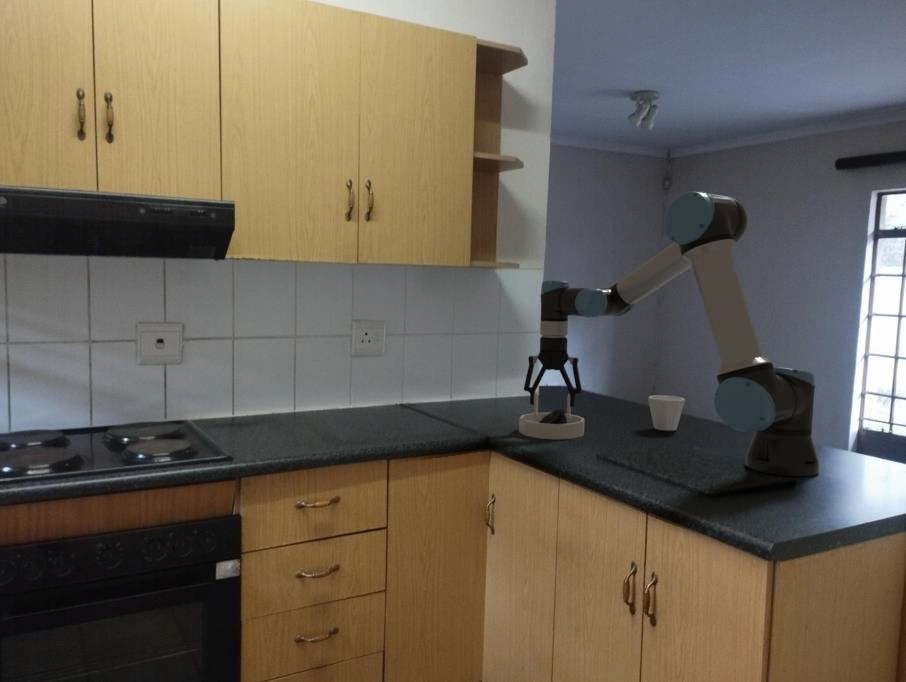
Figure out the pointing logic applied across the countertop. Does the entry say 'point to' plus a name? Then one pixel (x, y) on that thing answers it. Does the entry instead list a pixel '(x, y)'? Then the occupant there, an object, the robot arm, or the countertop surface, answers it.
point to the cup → (666, 411)
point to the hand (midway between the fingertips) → (552, 417)
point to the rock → (555, 417)
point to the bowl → (551, 427)
